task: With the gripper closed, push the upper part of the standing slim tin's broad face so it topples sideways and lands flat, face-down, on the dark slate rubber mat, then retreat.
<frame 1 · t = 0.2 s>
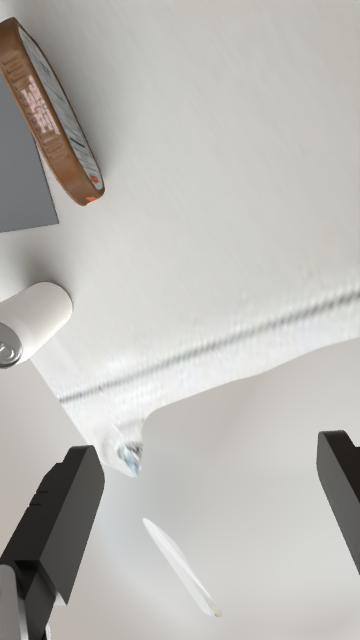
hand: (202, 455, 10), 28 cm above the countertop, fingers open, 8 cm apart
can: (51, 303, 40), on the countertop
tin: (73, 131, 31), on the countertop
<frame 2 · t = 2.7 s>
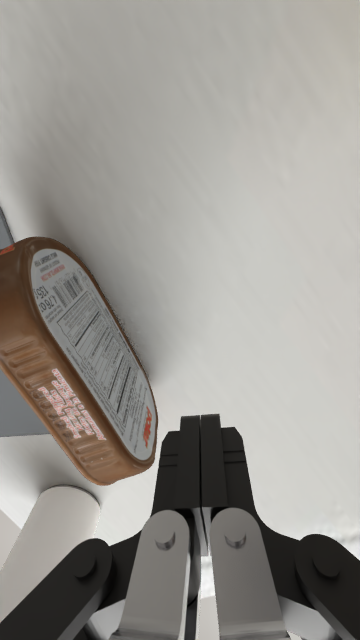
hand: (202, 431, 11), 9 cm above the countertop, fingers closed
can: (71, 501, 29), on the countertop
tin: (110, 329, 21), on the countertop
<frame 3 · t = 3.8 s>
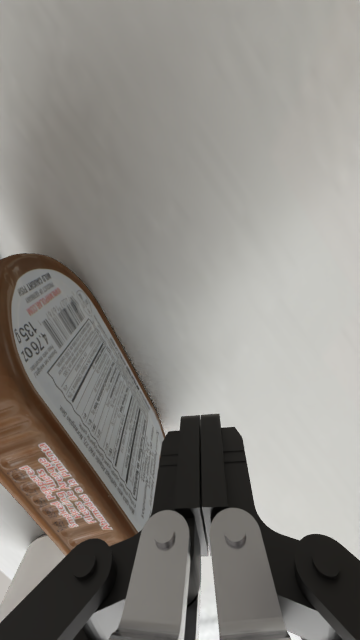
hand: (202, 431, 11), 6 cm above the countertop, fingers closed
can: (67, 549, 26), on the countertop
tin: (115, 361, 17), on the countertop
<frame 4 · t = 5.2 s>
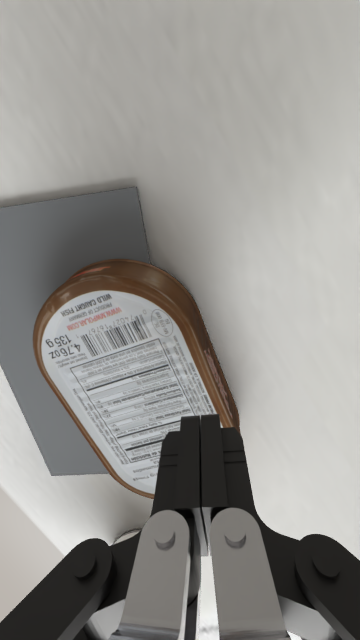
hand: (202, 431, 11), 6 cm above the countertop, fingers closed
tin: (223, 377, 15), point 2 cm above the countertop, touching mat
mat: (85, 364, 17), on the countertop
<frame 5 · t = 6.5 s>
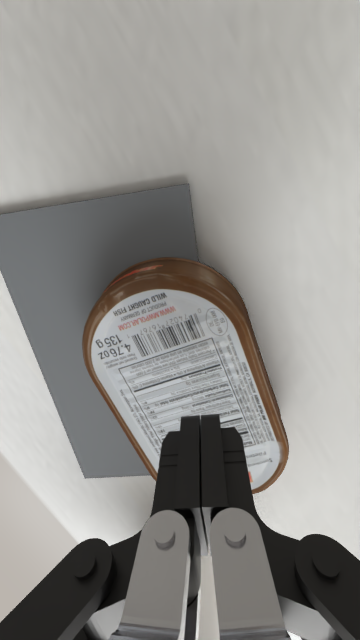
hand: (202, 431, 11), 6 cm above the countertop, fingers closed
can: (180, 549, 24), on the countertop
tin: (272, 376, 14), point 2 cm above the countertop, touching mat
mat: (124, 365, 17), on the countertop
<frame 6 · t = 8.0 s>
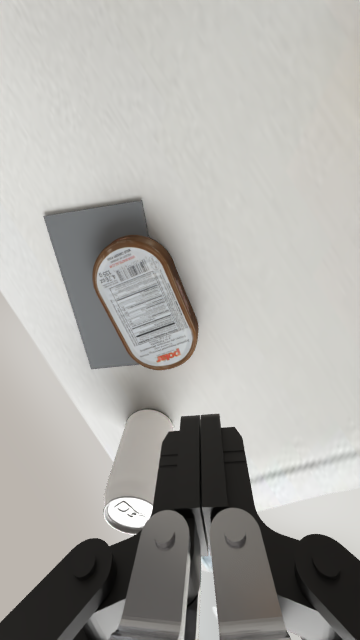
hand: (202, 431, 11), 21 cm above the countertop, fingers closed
can: (150, 425, 39), on the countertop
tin: (185, 294, 29), point 2 cm above the countertop, touching mat
mat: (113, 294, 32), on the countertop
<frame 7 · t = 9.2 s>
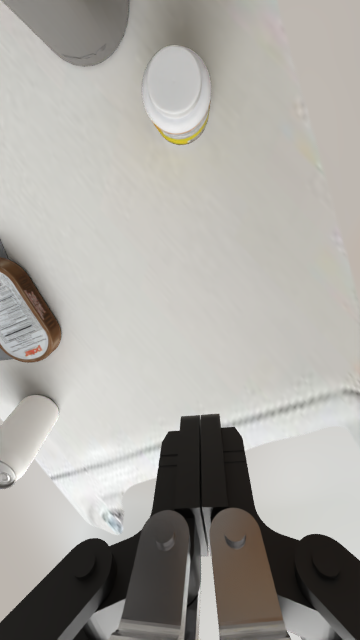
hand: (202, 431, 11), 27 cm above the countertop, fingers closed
can: (41, 408, 47), on the countertop
tin: (38, 302, 37), point 2 cm above the countertop, touching mat
supplement bottle: (181, 115, 30), on the countertop
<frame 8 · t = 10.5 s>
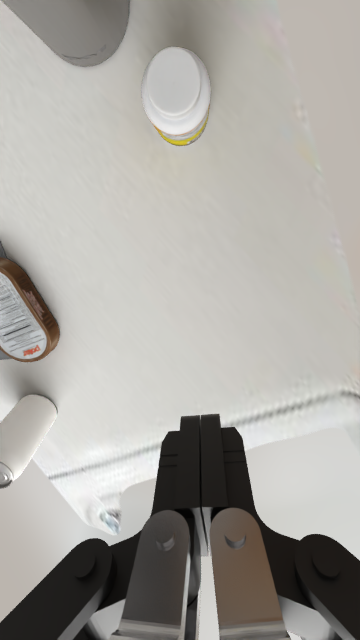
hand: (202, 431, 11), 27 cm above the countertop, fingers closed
can: (39, 407, 47), on the countertop
tin: (37, 302, 37), point 2 cm above the countertop, touching mat
supplement bottle: (181, 116, 30), on the countertop
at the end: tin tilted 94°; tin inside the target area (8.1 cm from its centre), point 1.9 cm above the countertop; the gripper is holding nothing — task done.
